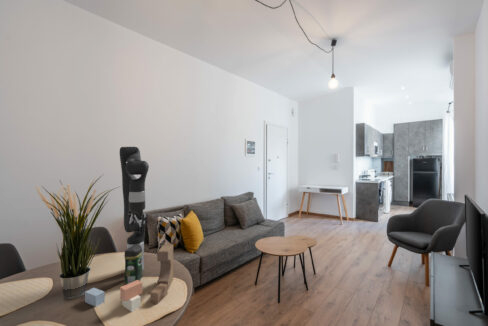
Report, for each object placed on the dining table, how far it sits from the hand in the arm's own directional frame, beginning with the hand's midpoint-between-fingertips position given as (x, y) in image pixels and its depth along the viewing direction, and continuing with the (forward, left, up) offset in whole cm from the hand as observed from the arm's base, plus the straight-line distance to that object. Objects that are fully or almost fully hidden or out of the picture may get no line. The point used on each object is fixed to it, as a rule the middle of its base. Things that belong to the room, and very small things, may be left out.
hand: (137, 232), depth 115 cm
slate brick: (-8, -16, -30) cm, 35 cm away
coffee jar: (-12, +5, -30) cm, 33 cm away
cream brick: (+9, -8, -30) cm, 32 cm away
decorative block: (+6, +12, -30) cm, 33 cm away
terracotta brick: (+9, -8, -25) cm, 28 cm away
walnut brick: (+14, +3, -30) cm, 34 cm away
